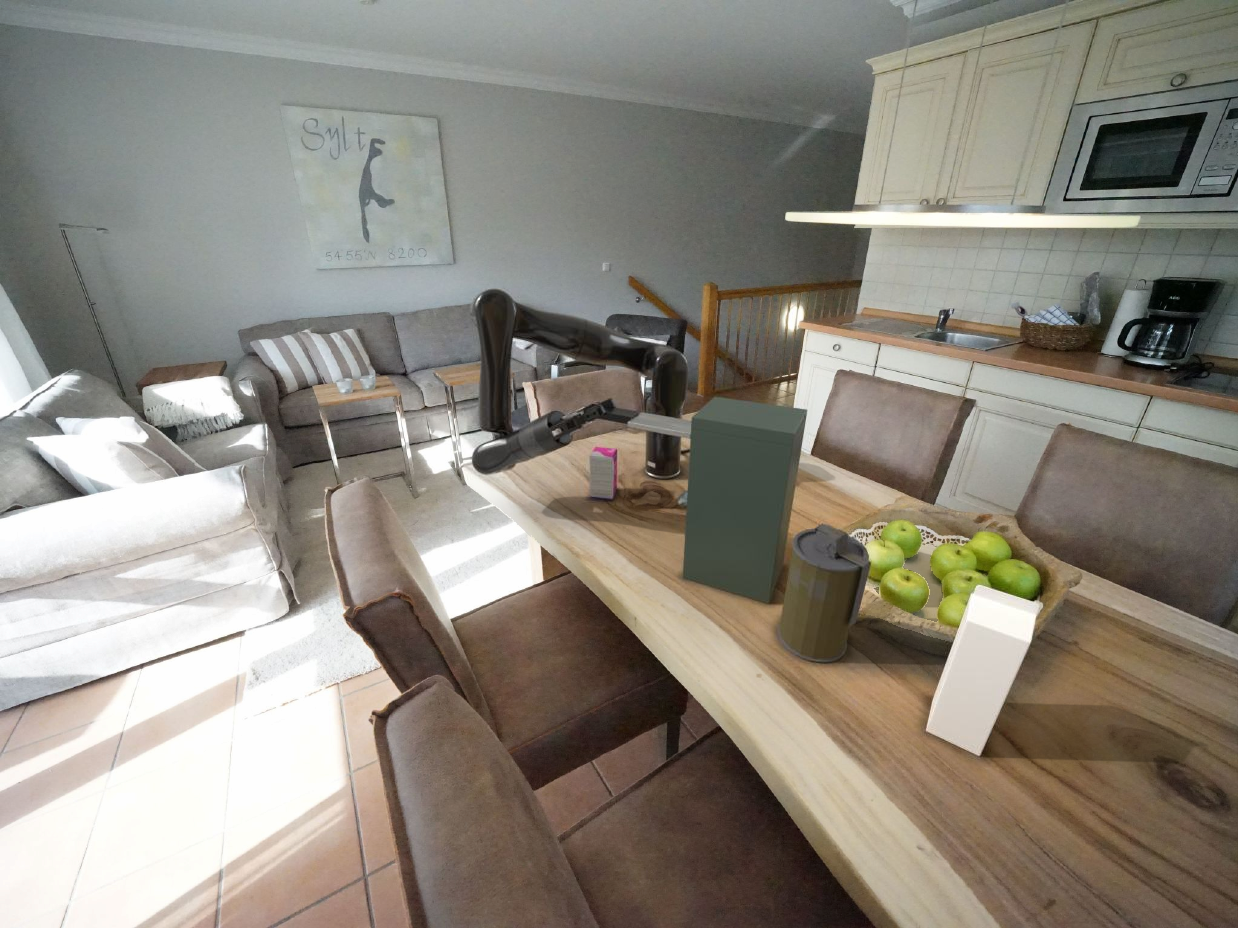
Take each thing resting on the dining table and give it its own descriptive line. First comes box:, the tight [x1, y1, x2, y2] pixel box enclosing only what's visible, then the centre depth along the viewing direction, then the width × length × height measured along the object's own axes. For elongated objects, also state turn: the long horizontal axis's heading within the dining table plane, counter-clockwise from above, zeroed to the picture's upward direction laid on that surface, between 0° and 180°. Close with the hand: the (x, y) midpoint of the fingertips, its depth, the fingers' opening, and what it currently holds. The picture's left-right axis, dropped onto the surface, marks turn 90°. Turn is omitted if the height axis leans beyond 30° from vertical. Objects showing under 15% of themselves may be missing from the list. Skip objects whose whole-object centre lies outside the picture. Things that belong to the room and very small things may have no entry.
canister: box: [777, 523, 872, 663], centre depth 77 cm, size 11×10×20 cm
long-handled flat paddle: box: [582, 403, 691, 440], centre depth 93 cm, size 6×22×2 cm, turn 63°
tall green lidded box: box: [682, 396, 808, 605], centre depth 90 cm, size 12×16×32 cm
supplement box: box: [588, 446, 618, 501], centre depth 122 cm, size 6×6×12 cm
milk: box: [925, 584, 1041, 757], centre depth 62 cm, size 6×6×22 cm
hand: (608, 406), depth 95 cm, fingers closed on long-handled flat paddle, 3 cm apart
